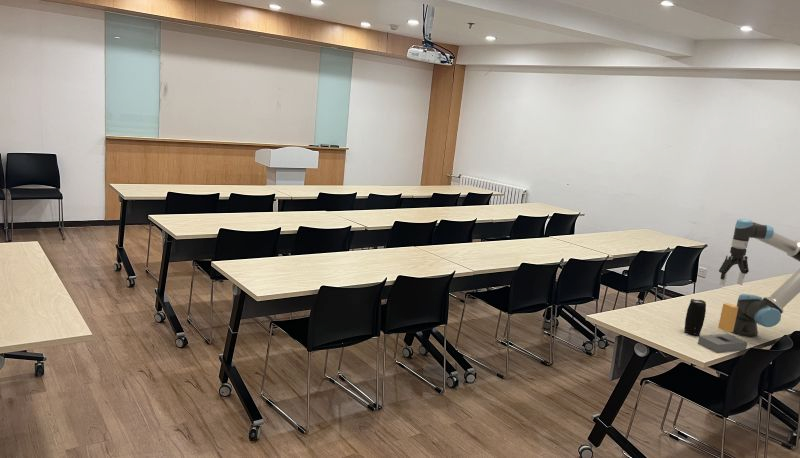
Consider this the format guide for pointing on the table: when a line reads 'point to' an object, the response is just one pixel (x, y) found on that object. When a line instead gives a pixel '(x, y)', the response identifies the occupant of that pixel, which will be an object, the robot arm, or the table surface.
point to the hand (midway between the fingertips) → (730, 284)
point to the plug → (728, 317)
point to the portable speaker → (695, 317)
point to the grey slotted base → (722, 343)
